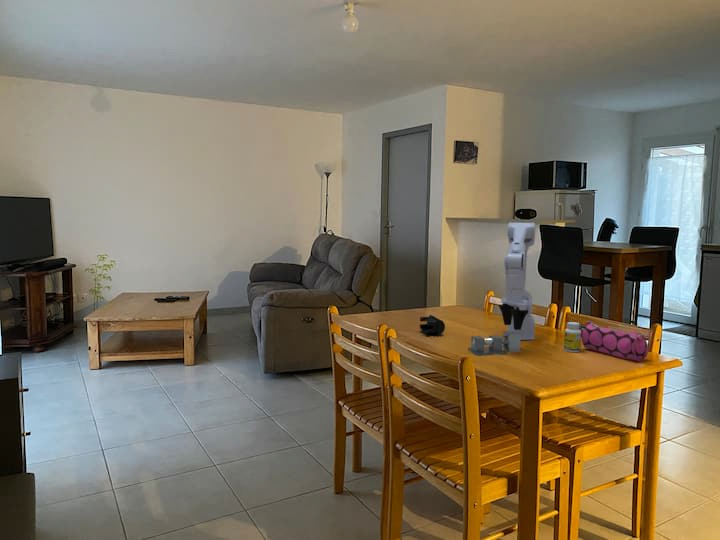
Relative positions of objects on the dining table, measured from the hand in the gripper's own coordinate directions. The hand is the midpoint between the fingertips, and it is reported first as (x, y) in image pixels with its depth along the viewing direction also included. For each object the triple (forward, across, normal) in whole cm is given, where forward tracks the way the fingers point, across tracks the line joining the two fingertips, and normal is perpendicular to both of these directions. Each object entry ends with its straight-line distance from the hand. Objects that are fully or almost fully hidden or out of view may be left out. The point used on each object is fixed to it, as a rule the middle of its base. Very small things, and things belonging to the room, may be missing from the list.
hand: (512, 327), depth 188 cm
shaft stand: (+8, 0, -6) cm, 10 cm away
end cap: (+9, -30, -19) cm, 37 cm away
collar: (+8, 0, 0) cm, 8 cm away
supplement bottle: (+9, +3, +21) cm, 23 cm away
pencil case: (+9, +10, +32) cm, 35 cm away
